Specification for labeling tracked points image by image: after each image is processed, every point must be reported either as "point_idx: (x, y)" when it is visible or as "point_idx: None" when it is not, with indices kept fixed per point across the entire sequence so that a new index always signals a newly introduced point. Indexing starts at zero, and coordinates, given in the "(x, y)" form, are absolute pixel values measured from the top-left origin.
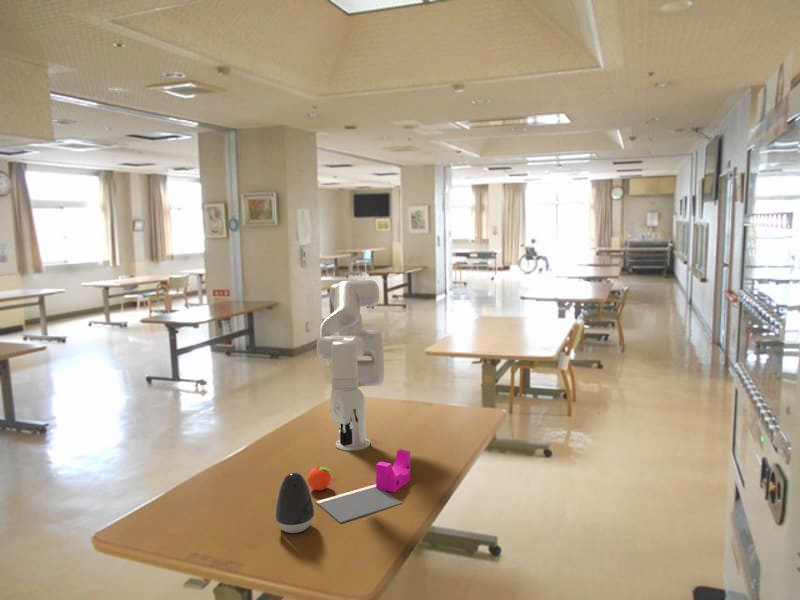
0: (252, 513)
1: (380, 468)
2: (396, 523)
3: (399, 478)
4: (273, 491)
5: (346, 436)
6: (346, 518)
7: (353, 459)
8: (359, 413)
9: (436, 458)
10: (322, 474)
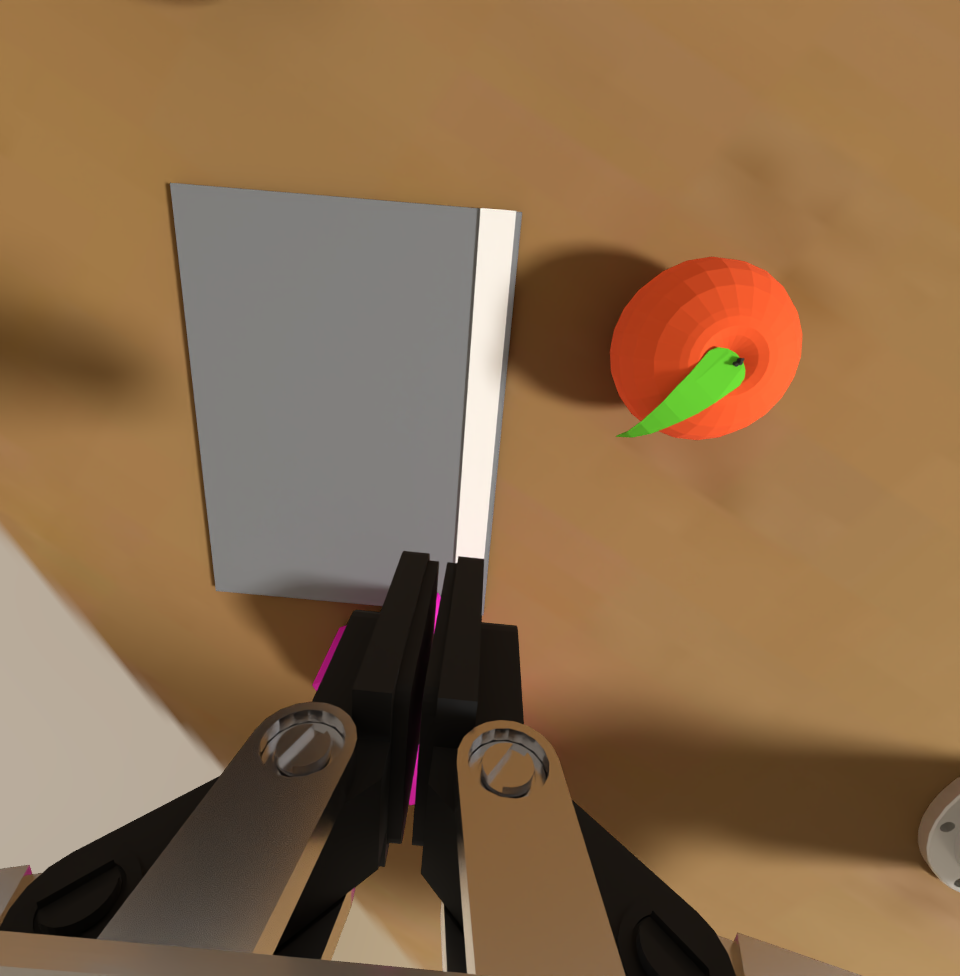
0: None
1: None
2: (42, 443)
3: None
4: (921, 33)
5: (321, 682)
6: (194, 244)
7: (855, 716)
8: None
9: None
10: (650, 347)
